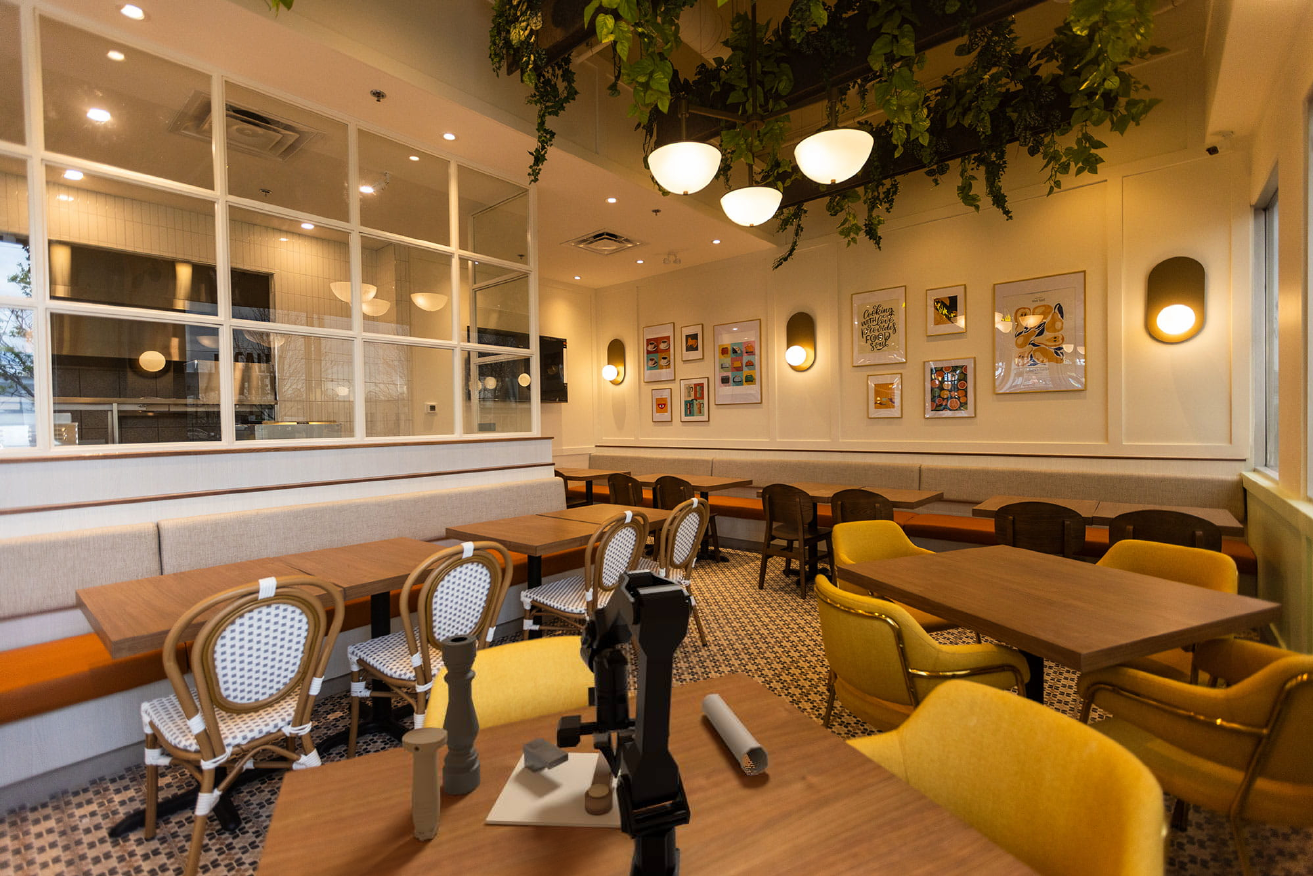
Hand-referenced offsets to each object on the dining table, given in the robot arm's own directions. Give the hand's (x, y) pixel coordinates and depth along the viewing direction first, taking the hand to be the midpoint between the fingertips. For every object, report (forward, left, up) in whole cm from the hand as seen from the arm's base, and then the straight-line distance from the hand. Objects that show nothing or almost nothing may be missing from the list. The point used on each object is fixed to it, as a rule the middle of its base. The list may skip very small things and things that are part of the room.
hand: (615, 777), depth 100 cm
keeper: (+3, +13, -1) cm, 14 cm away
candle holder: (0, +27, -2) cm, 27 cm away
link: (0, +2, -1) cm, 2 cm away
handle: (-13, +27, -2) cm, 30 cm away
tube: (+17, -20, -2) cm, 26 cm away
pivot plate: (0, +8, -2) cm, 8 cm away
